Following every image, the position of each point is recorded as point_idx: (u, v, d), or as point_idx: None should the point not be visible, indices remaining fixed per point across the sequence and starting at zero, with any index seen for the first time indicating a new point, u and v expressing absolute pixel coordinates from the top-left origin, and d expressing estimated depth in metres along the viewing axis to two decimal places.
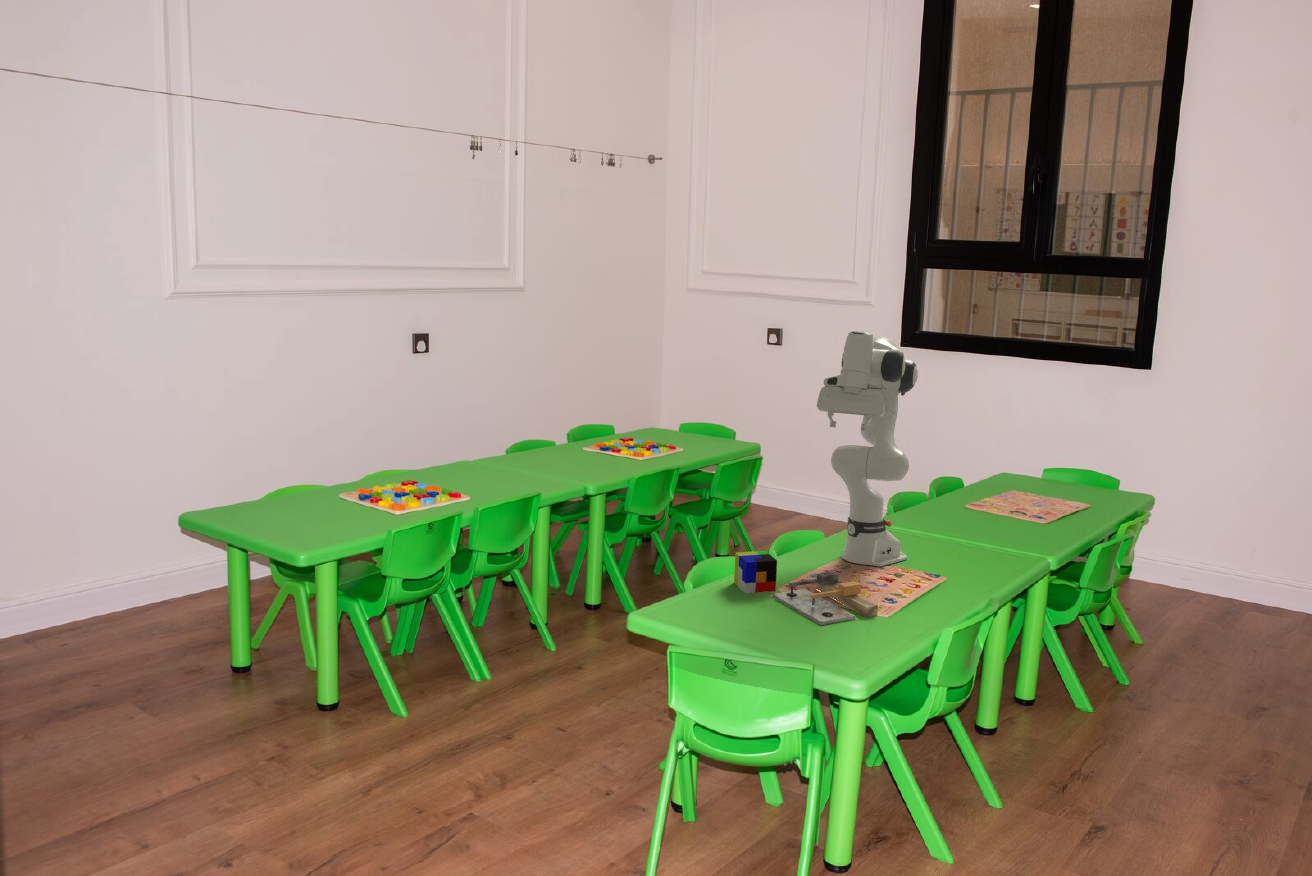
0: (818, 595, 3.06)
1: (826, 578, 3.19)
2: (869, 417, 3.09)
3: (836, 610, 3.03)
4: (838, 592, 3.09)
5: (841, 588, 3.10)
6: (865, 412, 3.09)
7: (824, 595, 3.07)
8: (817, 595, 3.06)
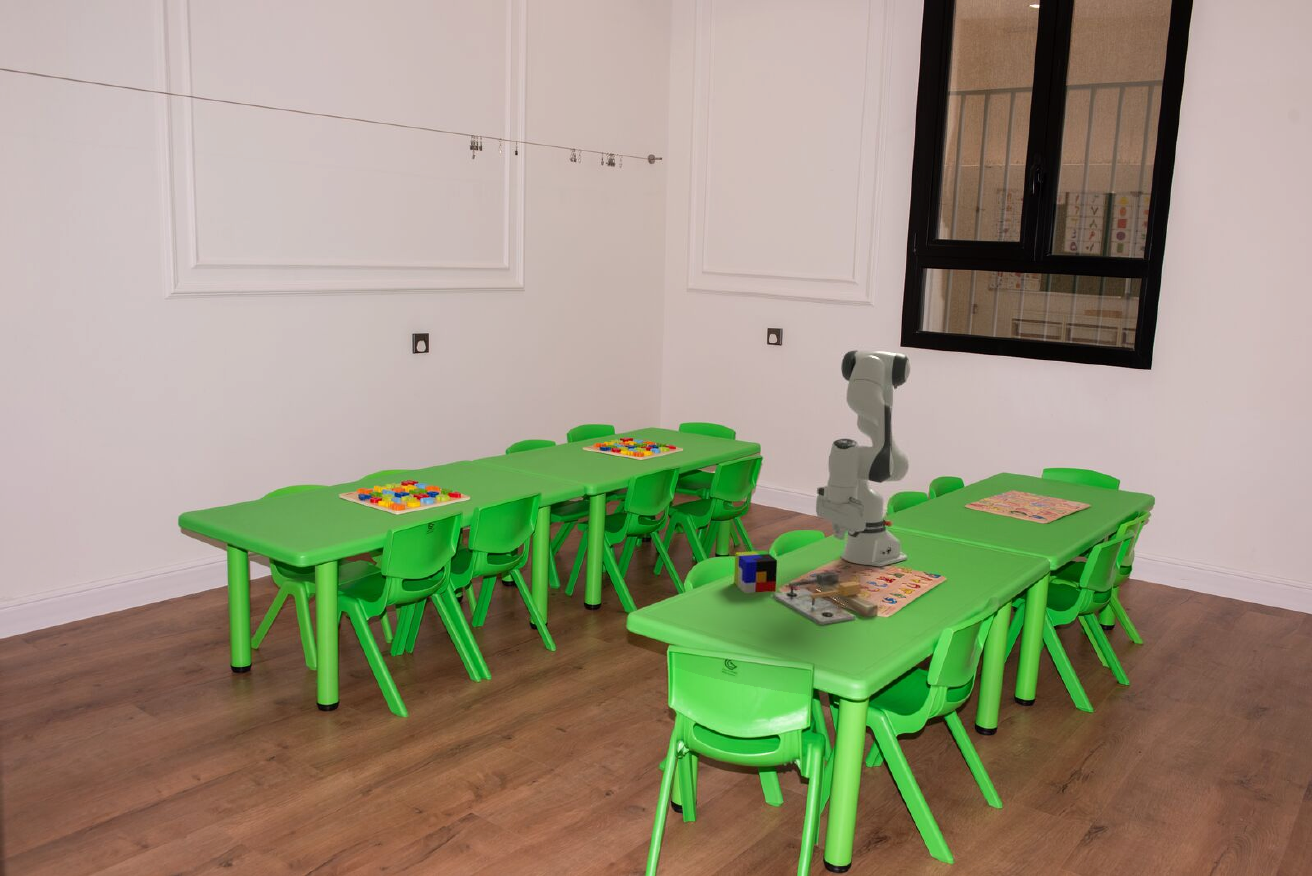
0: (818, 595, 3.06)
1: (826, 578, 3.19)
2: (841, 528, 3.11)
3: (836, 610, 3.03)
4: (838, 592, 3.09)
5: (841, 588, 3.10)
6: (845, 526, 3.08)
7: (824, 595, 3.07)
8: (817, 595, 3.06)
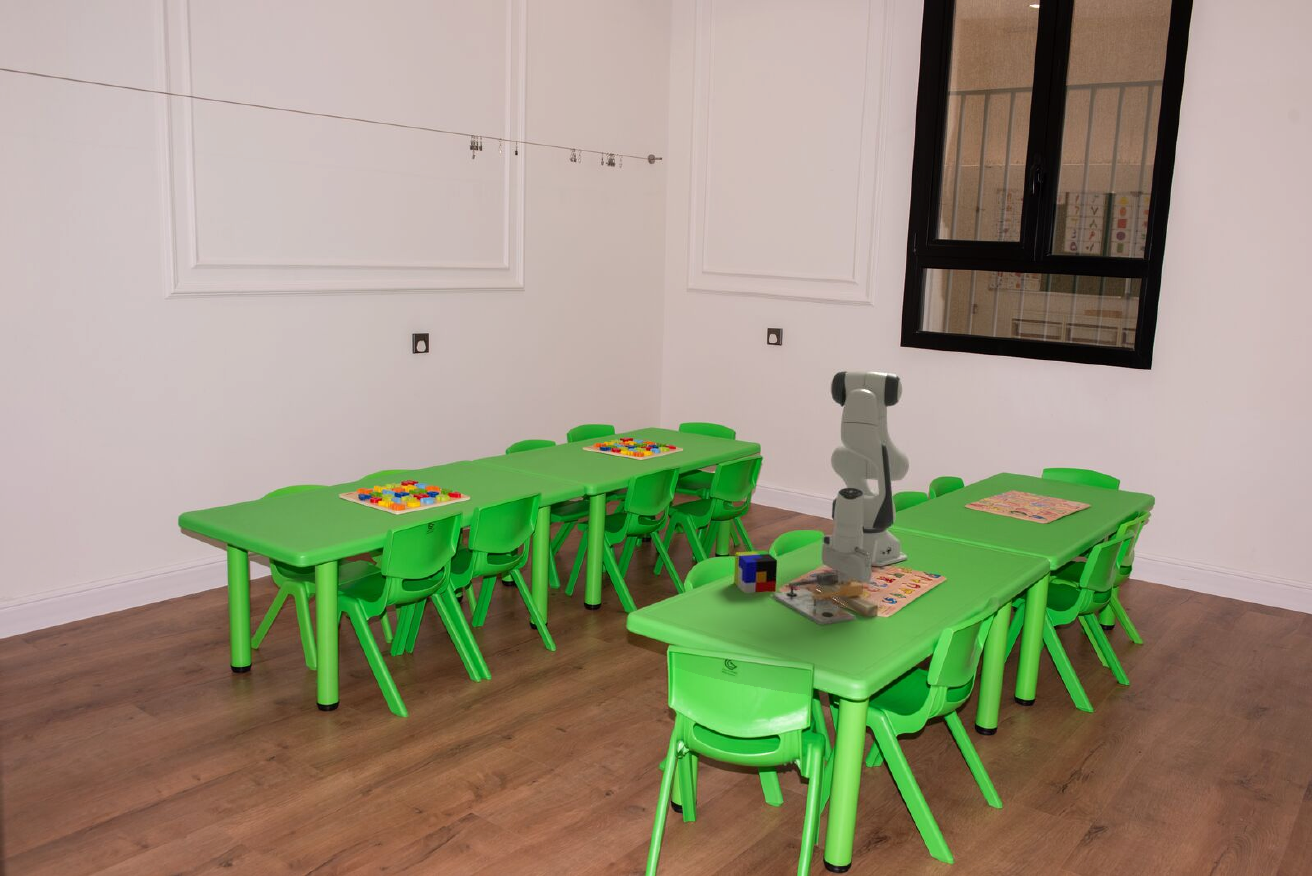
0: (820, 596, 3.05)
1: (826, 578, 3.19)
2: (846, 577, 3.10)
3: (836, 610, 3.03)
4: (840, 593, 3.08)
5: (843, 589, 3.09)
6: (851, 576, 3.07)
7: (826, 596, 3.06)
8: (819, 596, 3.05)
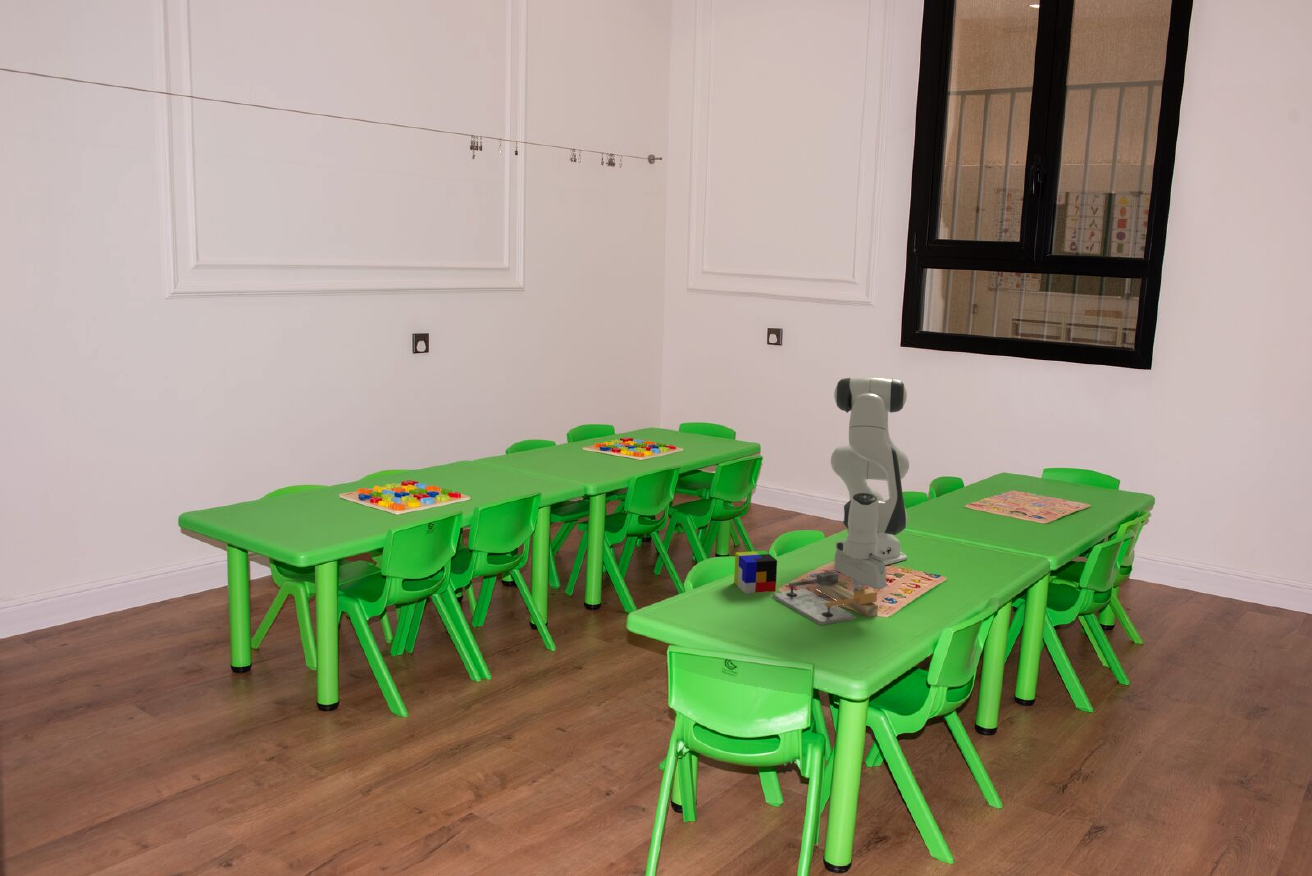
0: (833, 603, 2.99)
1: (826, 578, 3.19)
2: (860, 584, 3.04)
3: (836, 610, 3.03)
4: (854, 600, 3.02)
5: (857, 596, 3.03)
6: (865, 583, 3.01)
7: (839, 603, 3.00)
8: (832, 603, 2.99)
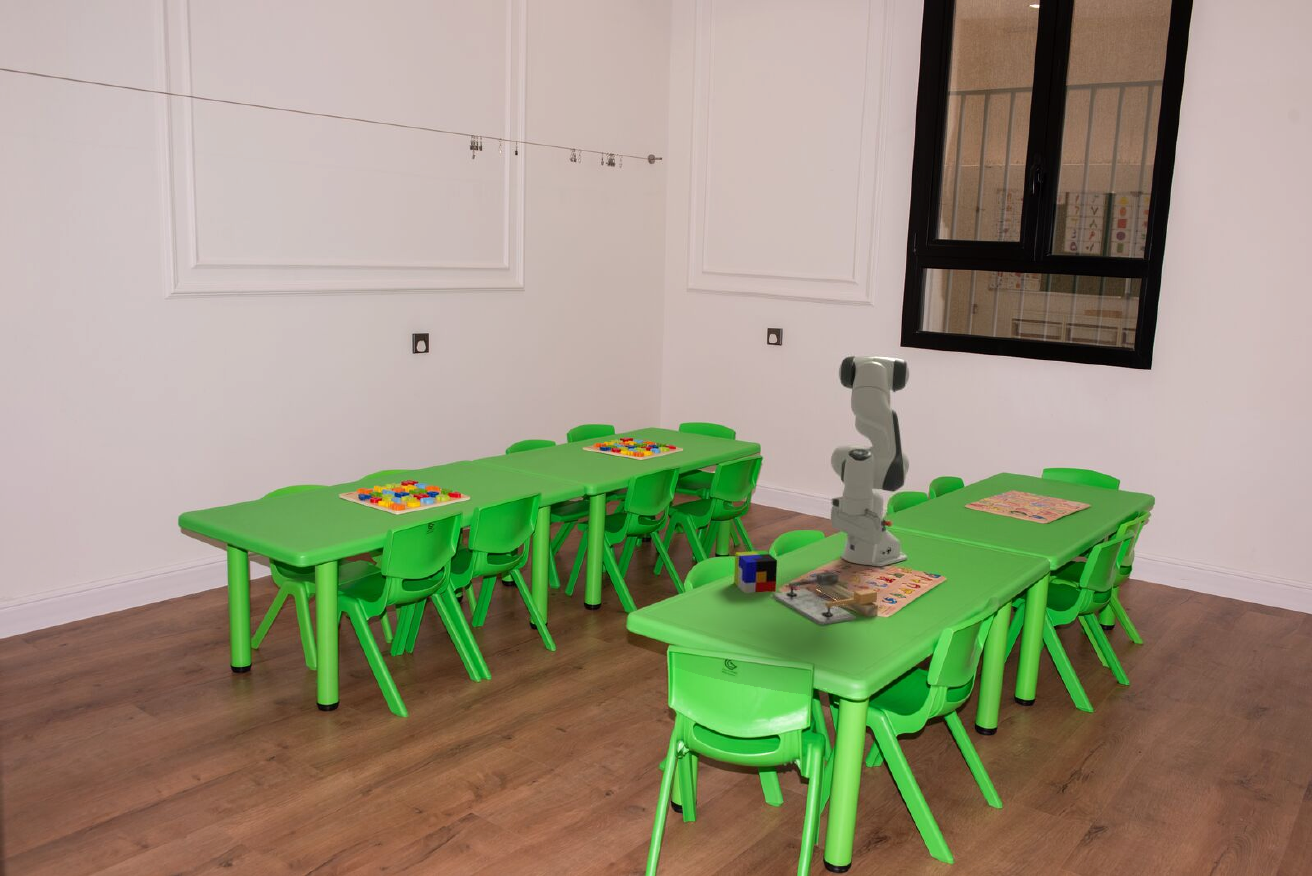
0: (833, 603, 2.99)
1: (826, 578, 3.19)
2: (857, 540, 3.05)
3: (836, 610, 3.03)
4: (854, 600, 3.02)
5: (857, 596, 3.03)
6: (861, 539, 3.02)
7: (840, 603, 3.00)
8: (832, 603, 2.99)
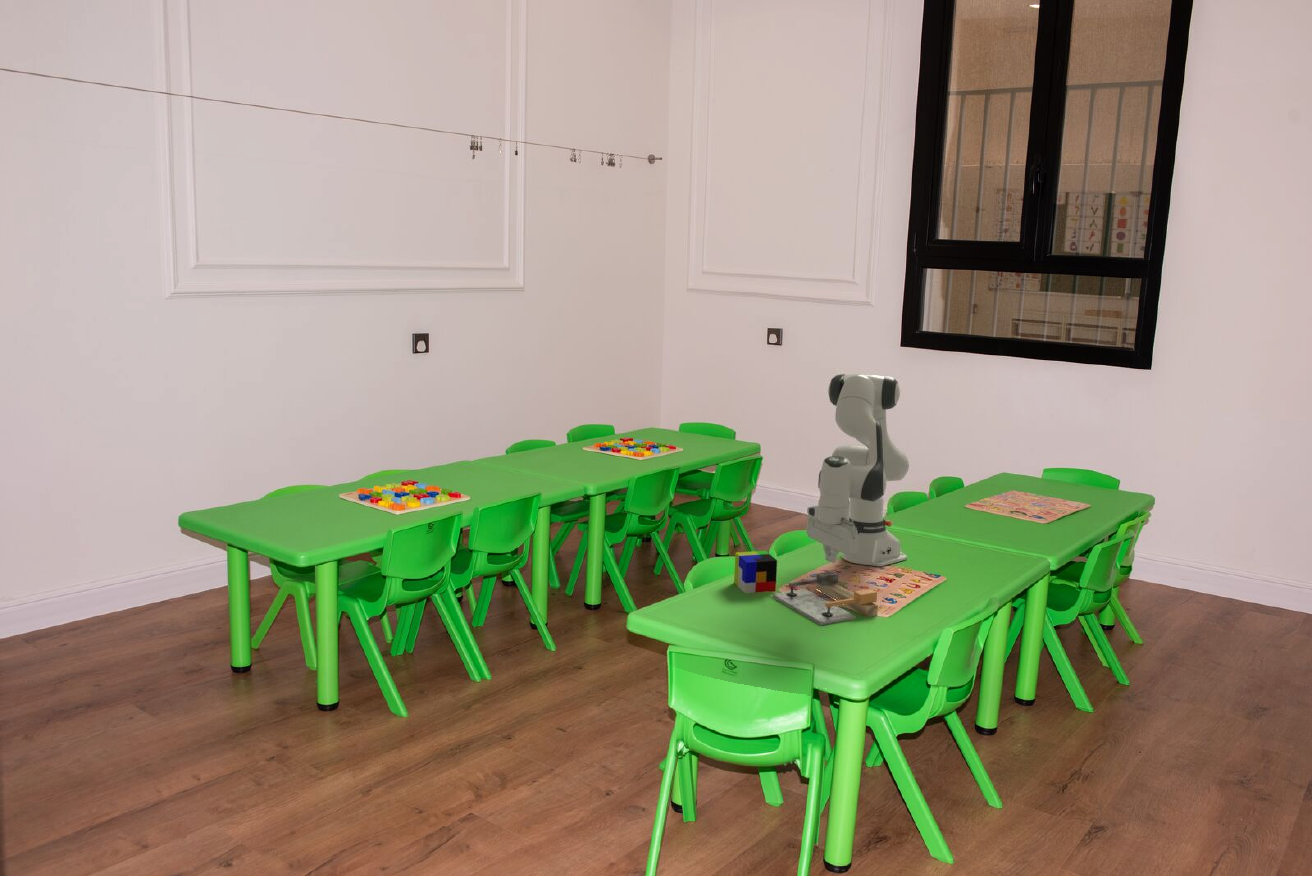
0: (833, 603, 2.99)
1: (826, 578, 3.19)
2: (833, 550, 2.94)
3: (836, 610, 3.03)
4: (854, 600, 3.02)
5: (857, 596, 3.03)
6: (837, 549, 2.91)
7: (840, 603, 3.00)
8: (832, 603, 2.99)
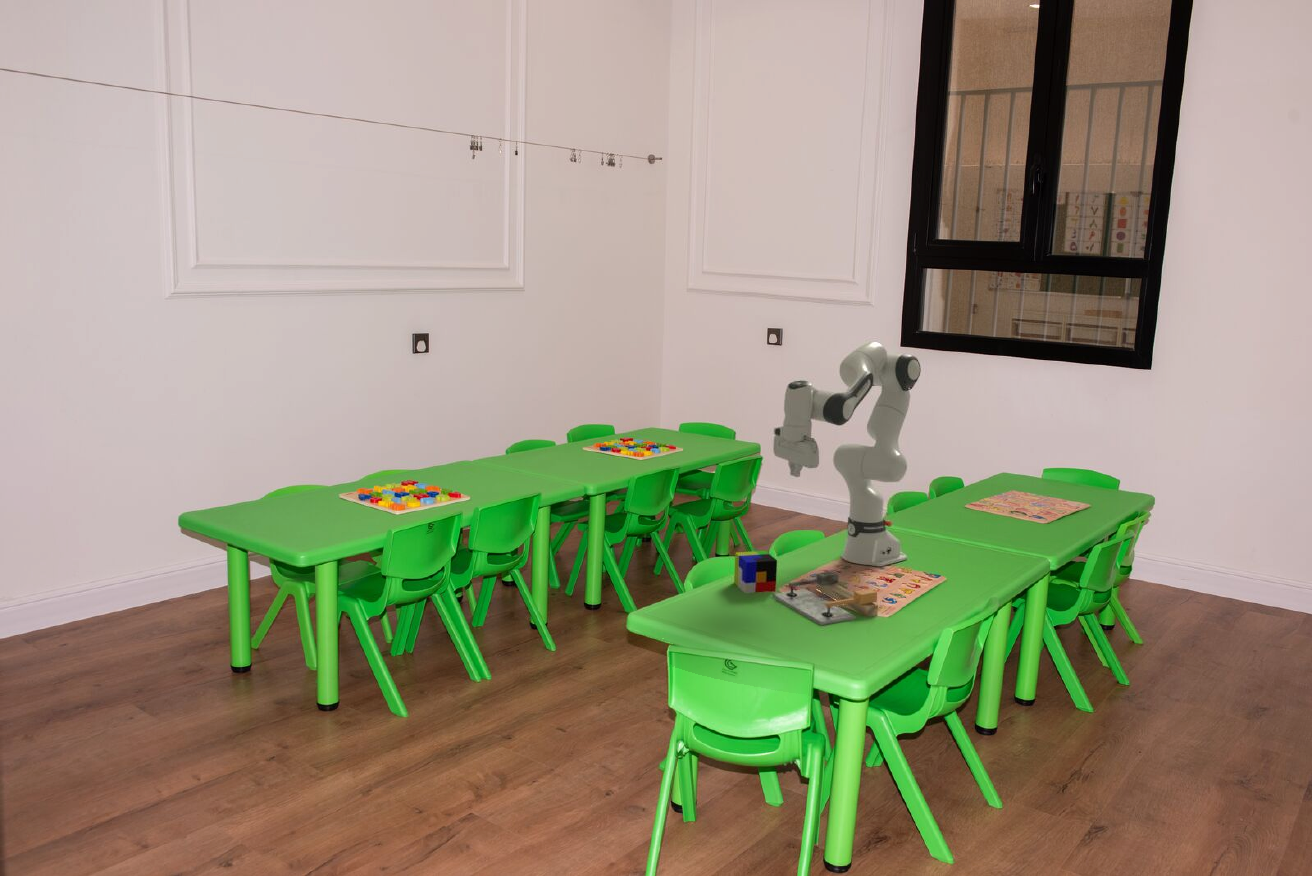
0: (833, 603, 2.99)
1: (826, 578, 3.19)
2: (796, 466, 3.26)
3: (836, 610, 3.03)
4: (854, 600, 3.02)
5: (857, 596, 3.03)
6: (800, 464, 3.23)
7: (840, 603, 3.00)
8: (832, 603, 2.99)
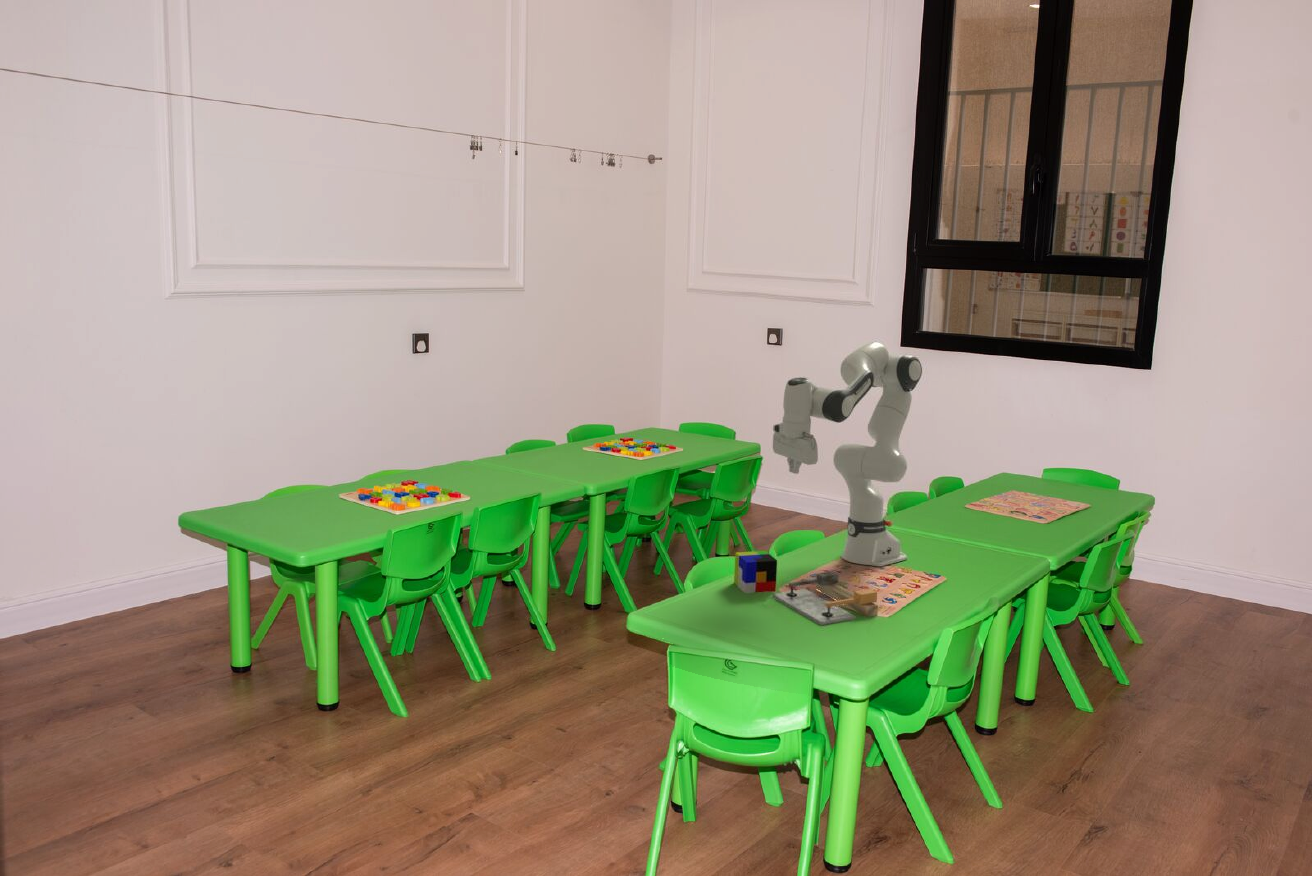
0: (833, 603, 2.99)
1: (826, 578, 3.19)
2: (795, 462, 3.27)
3: (836, 610, 3.03)
4: (854, 600, 3.02)
5: (857, 596, 3.03)
6: (799, 460, 3.24)
7: (840, 603, 3.00)
8: (832, 603, 2.99)
